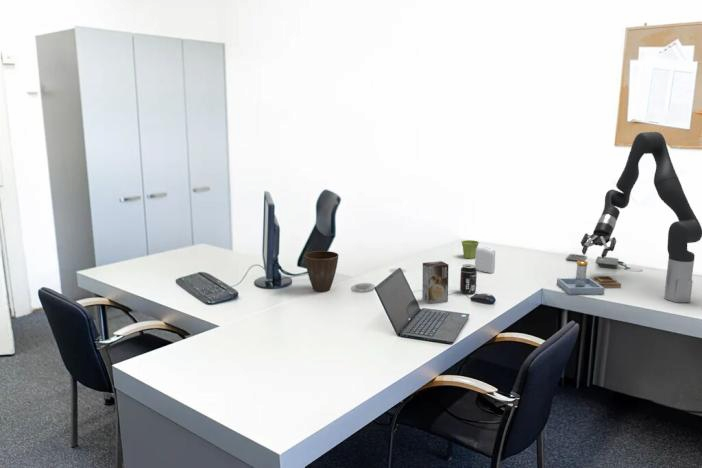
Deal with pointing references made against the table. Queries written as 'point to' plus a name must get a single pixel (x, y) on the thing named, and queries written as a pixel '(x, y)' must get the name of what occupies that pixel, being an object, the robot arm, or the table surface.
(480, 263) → the photo printer
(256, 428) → the table surface
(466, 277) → the beverage can
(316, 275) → the plant pot
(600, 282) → the brown stepped base
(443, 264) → the coffee box
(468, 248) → the plant pot
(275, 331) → the table surface
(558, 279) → the tray
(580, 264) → the lock pin
